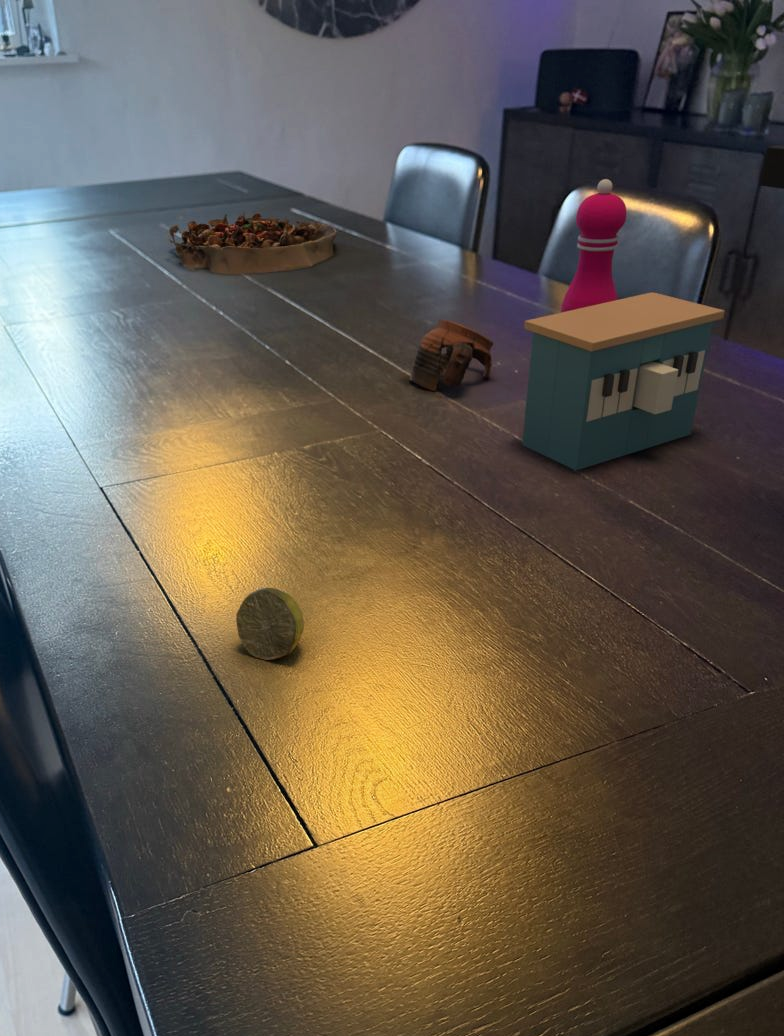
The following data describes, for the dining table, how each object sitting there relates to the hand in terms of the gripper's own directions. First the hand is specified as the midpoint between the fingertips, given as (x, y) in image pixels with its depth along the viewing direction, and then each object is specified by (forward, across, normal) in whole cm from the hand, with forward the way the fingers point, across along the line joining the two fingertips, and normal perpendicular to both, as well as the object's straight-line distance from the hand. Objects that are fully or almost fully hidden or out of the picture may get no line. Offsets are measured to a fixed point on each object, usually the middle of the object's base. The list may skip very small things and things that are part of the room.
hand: (769, 165), depth 73 cm
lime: (-2, -48, -27) cm, 55 cm away
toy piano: (+12, 0, -27) cm, 30 cm away
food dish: (+120, +13, -28) cm, 124 cm away
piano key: (+8, 0, -22) cm, 23 cm away
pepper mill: (+38, +22, -27) cm, 52 cm away
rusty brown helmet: (+36, -2, -27) cm, 45 cm away
